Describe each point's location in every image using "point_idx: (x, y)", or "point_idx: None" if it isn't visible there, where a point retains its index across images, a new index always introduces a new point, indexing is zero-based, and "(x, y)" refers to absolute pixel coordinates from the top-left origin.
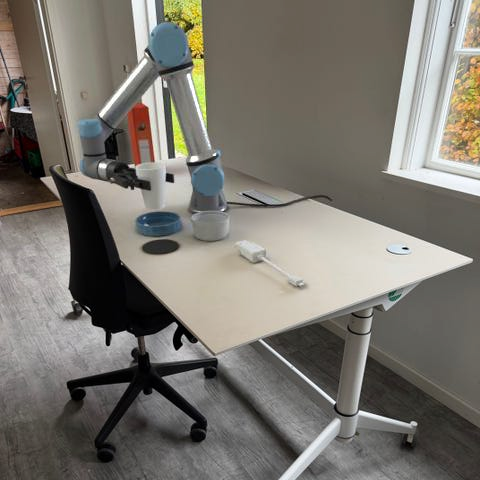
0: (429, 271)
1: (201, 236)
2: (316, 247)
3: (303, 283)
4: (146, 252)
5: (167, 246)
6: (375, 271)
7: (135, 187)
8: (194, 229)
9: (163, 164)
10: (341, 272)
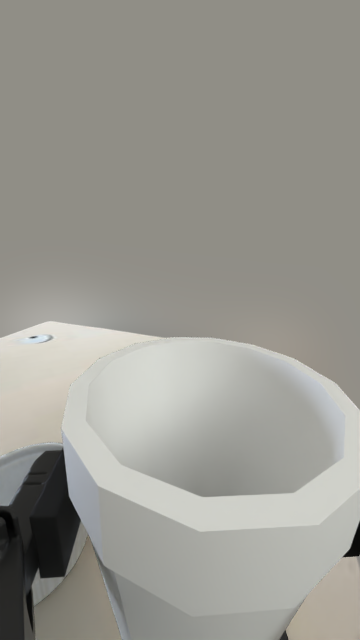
0: (83, 326)
1: None
2: (52, 374)
3: None
4: (286, 638)
5: None
6: (100, 339)
7: (356, 552)
8: (77, 545)
9: (110, 359)
10: (116, 348)
